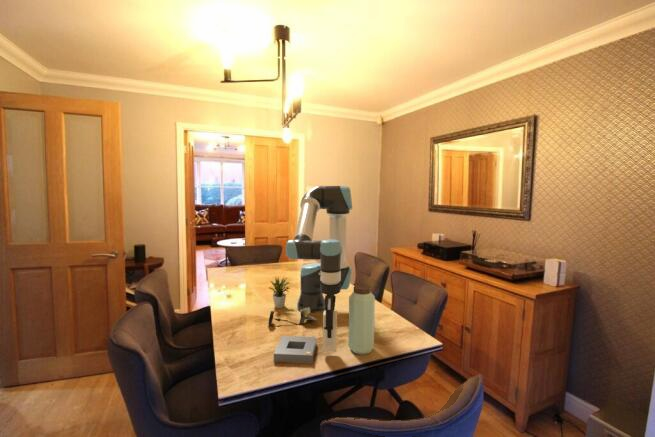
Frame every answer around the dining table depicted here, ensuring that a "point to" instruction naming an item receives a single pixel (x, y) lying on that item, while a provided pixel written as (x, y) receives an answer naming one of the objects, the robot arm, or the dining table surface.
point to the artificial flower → (303, 317)
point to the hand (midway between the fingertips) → (329, 341)
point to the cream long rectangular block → (333, 348)
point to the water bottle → (361, 319)
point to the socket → (295, 349)
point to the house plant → (279, 292)
